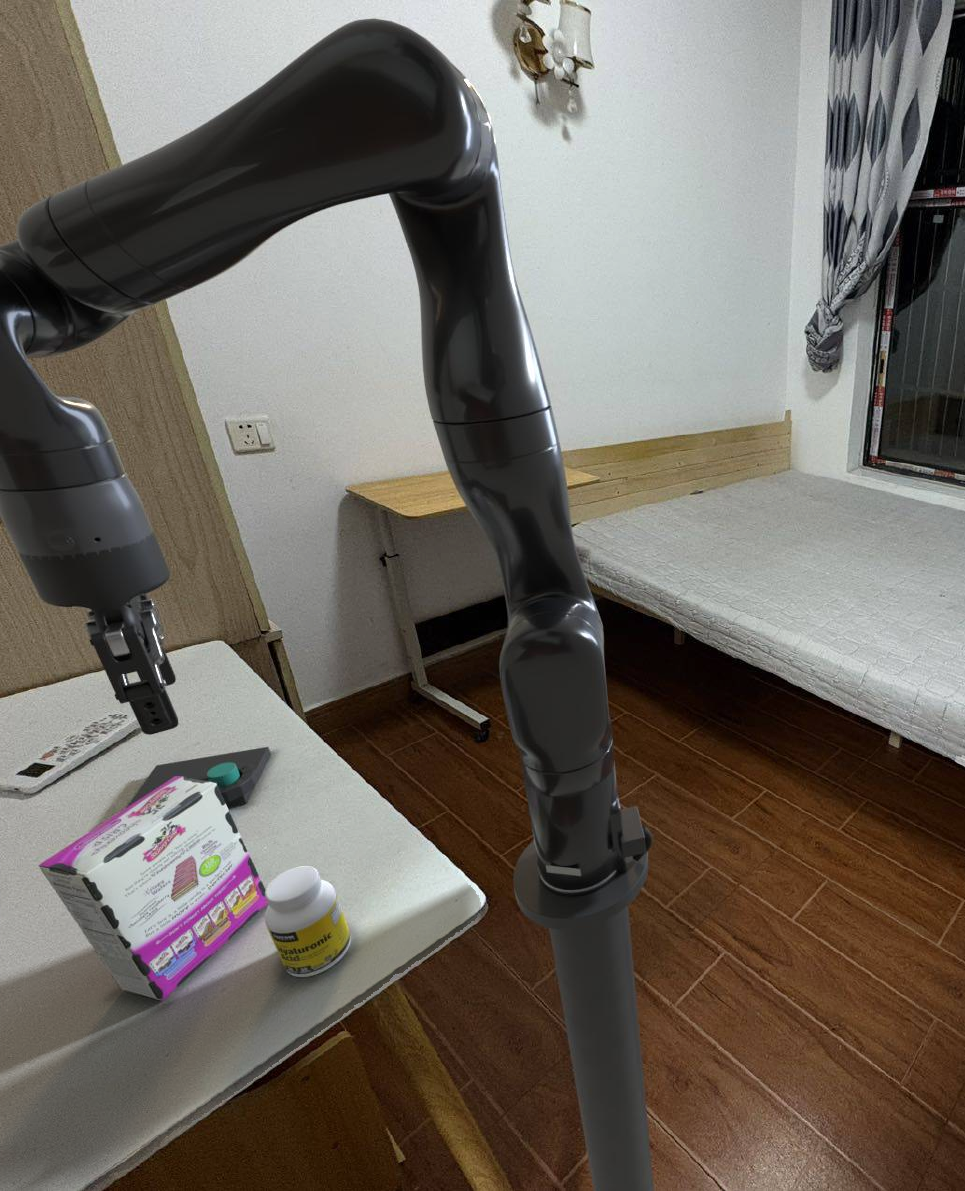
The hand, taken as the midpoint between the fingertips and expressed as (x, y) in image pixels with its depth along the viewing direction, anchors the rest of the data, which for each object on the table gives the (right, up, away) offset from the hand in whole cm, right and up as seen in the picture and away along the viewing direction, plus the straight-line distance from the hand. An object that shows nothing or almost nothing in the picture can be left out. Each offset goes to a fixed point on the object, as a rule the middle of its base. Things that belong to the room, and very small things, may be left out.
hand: (162, 706), depth 57 cm
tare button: (-14, -13, +23) cm, 30 cm away
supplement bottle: (+10, -25, +6) cm, 28 cm away
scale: (-19, -15, +25) cm, 35 cm away
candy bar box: (-2, -25, +6) cm, 26 cm away
